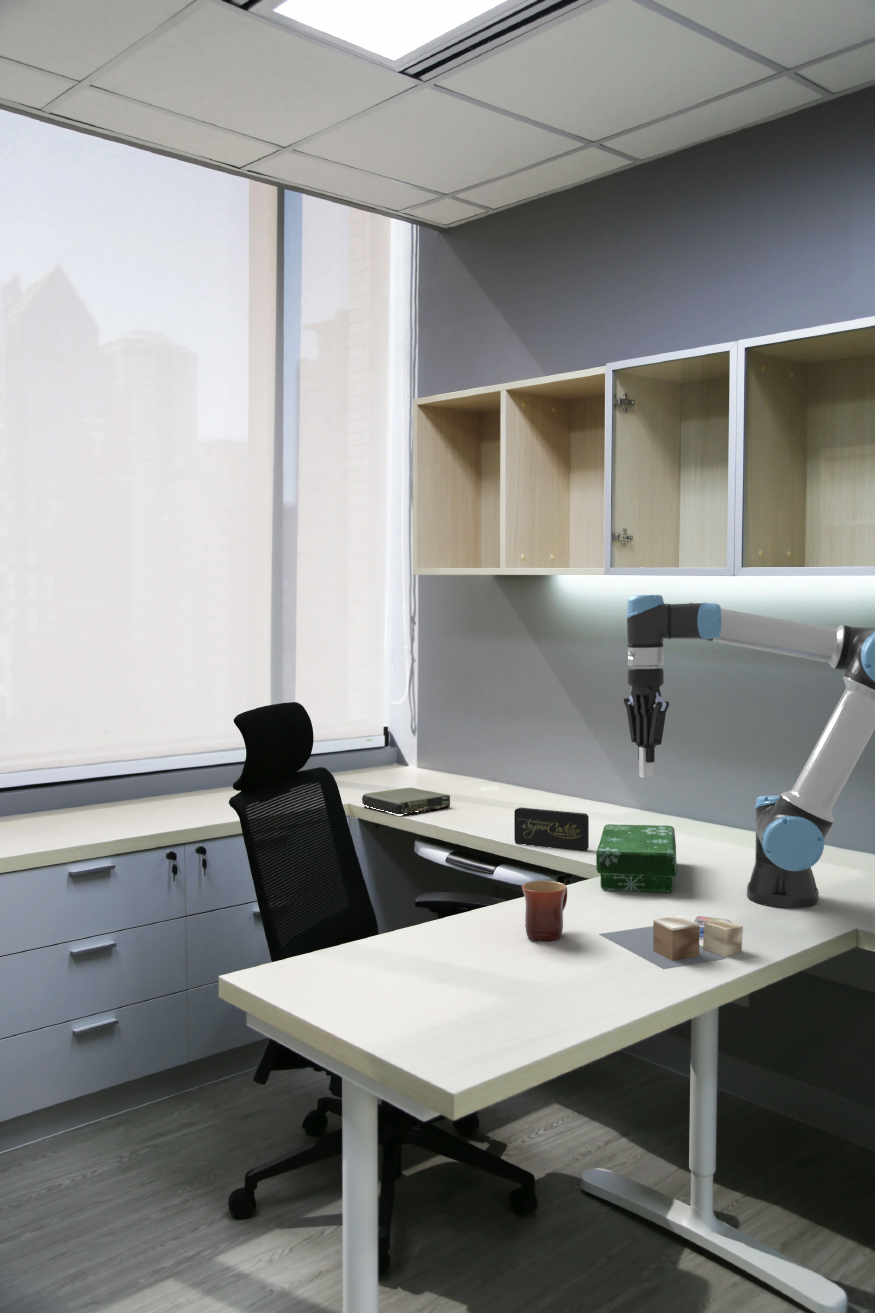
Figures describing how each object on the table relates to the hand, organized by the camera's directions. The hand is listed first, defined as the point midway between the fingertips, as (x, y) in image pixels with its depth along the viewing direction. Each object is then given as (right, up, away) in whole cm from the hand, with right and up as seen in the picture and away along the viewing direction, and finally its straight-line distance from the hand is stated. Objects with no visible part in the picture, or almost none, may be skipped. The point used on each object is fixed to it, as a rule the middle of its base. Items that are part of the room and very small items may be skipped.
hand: (646, 777), depth 225 cm
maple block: (+9, -30, -27) cm, 41 cm away
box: (+4, -28, +29) cm, 40 cm away
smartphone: (+10, -30, -14) cm, 34 cm away
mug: (-23, -30, -17) cm, 41 cm away
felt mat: (-2, -30, -24) cm, 39 cm away
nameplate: (-14, -26, +61) cm, 68 cm away
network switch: (-55, -24, +118) cm, 133 cm away
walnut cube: (0, -24, -29) cm, 38 cm away
